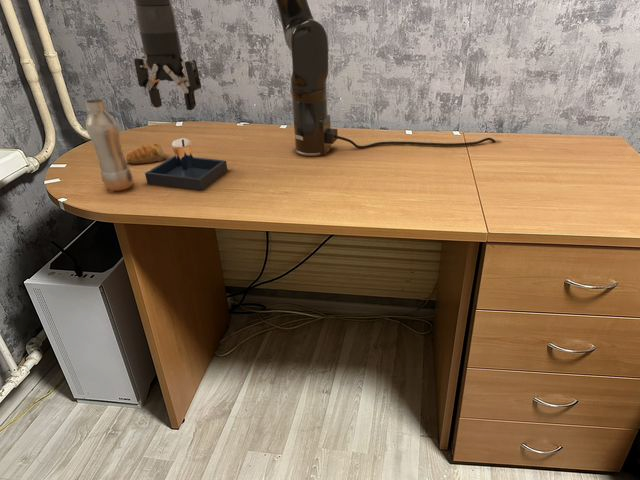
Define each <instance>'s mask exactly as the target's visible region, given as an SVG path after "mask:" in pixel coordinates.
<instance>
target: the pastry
mask: <svg viewBox="0 0 640 480" xmlns="http://www.w3.org/2000/svg"><path fill="white" fill-rule="evenodd" d="M165 159H166V155H165V152H164V150H163V148H162V146H161V144H160V143H159V142H154V143H153V144H146V145H142V146H140V147H138V148H136V149H133V150H132V151H130V152H128V153H127V154H126V158H125V160H126V162H127V163H130V164H134V165H141V164H150V163H155V162H162V161H164V160H165Z"/></svg>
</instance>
